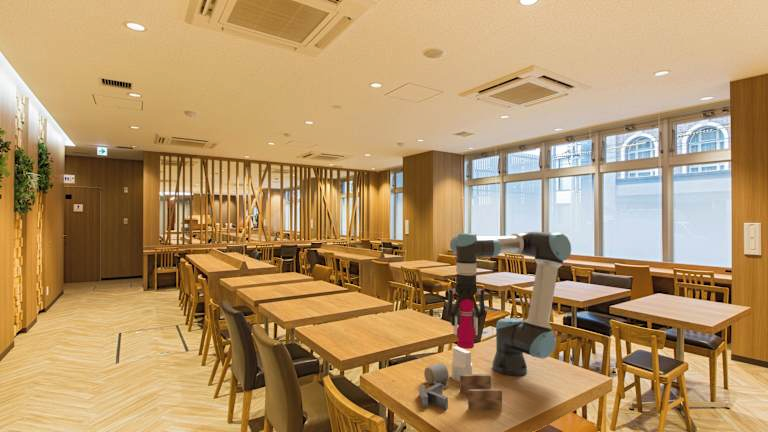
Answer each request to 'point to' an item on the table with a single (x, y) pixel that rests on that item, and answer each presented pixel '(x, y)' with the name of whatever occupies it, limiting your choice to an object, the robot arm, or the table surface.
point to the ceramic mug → (437, 374)
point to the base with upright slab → (460, 363)
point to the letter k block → (433, 396)
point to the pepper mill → (466, 325)
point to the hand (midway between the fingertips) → (465, 333)
